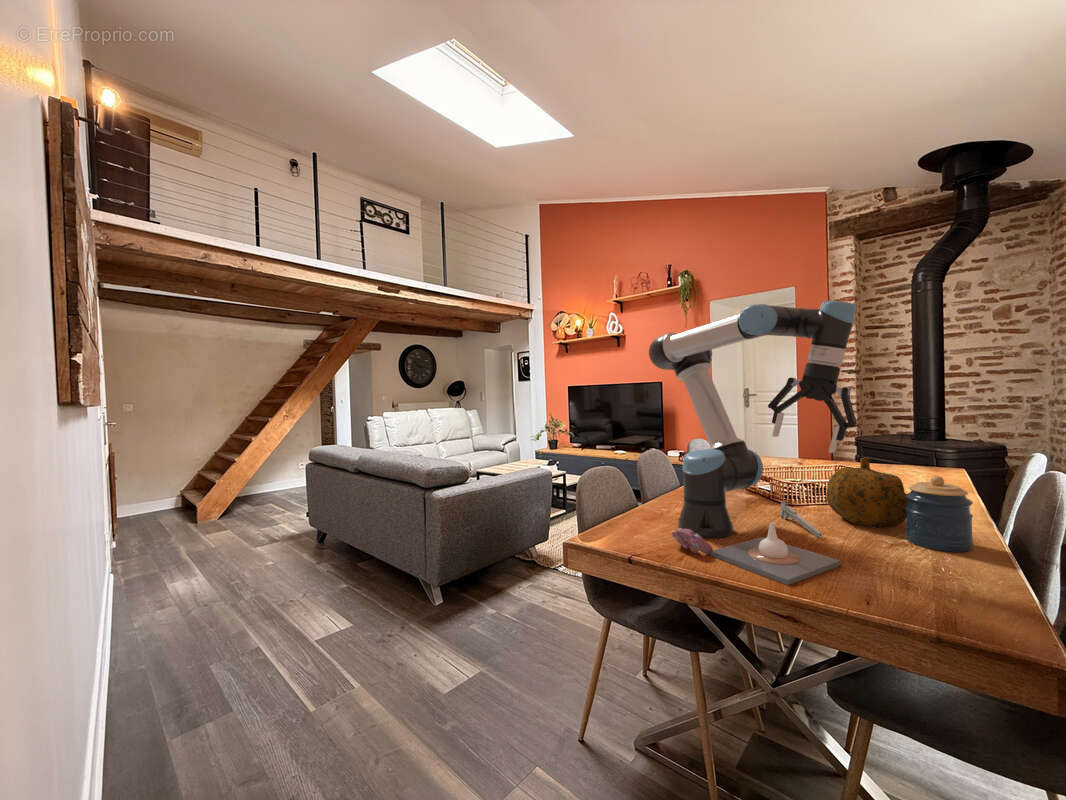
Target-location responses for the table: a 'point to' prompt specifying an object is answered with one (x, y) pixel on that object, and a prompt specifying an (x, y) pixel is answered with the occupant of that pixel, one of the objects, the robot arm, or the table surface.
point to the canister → (939, 516)
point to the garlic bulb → (773, 545)
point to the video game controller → (692, 541)
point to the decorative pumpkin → (867, 496)
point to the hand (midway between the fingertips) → (802, 443)
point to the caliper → (797, 518)
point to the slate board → (776, 561)
